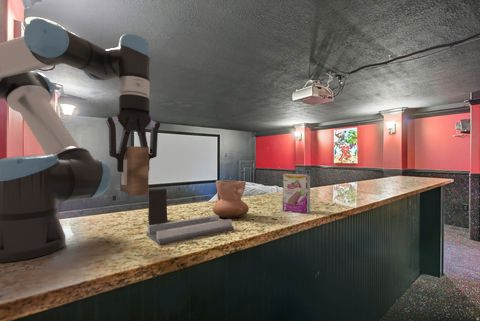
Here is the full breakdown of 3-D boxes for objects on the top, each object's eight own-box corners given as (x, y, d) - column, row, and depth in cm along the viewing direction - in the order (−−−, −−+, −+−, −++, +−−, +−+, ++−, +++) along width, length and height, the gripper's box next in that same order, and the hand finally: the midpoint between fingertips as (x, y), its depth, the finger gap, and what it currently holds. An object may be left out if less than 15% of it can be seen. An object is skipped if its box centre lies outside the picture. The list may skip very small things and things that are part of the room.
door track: (159, 245, 64) (159, 233, 64) (146, 235, 73) (146, 224, 73) (233, 229, 79) (233, 220, 79) (215, 222, 88) (215, 214, 88)
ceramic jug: (257, 218, 96) (257, 181, 96) (224, 222, 88) (224, 182, 88) (234, 210, 111) (234, 179, 111) (204, 214, 103) (204, 180, 104)
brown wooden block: (131, 195, 60) (132, 146, 60) (120, 190, 69) (120, 147, 69) (148, 194, 62) (148, 147, 62) (135, 189, 72) (135, 148, 72)
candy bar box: (282, 211, 109) (282, 174, 109) (286, 209, 113) (286, 173, 113) (307, 214, 103) (307, 175, 103) (310, 212, 107) (310, 174, 107)
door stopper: (167, 224, 85) (167, 189, 86) (148, 226, 83) (149, 190, 83) (164, 218, 94) (165, 187, 94) (148, 220, 92) (148, 187, 92)
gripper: (100, 87, 58) (99, 187, 57) (170, 99, 68) (169, 183, 68) (95, 94, 63) (94, 184, 63) (161, 104, 74) (160, 181, 74)
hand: (133, 184), depth 66 cm, fingers closed on brown wooden block, 4 cm apart
